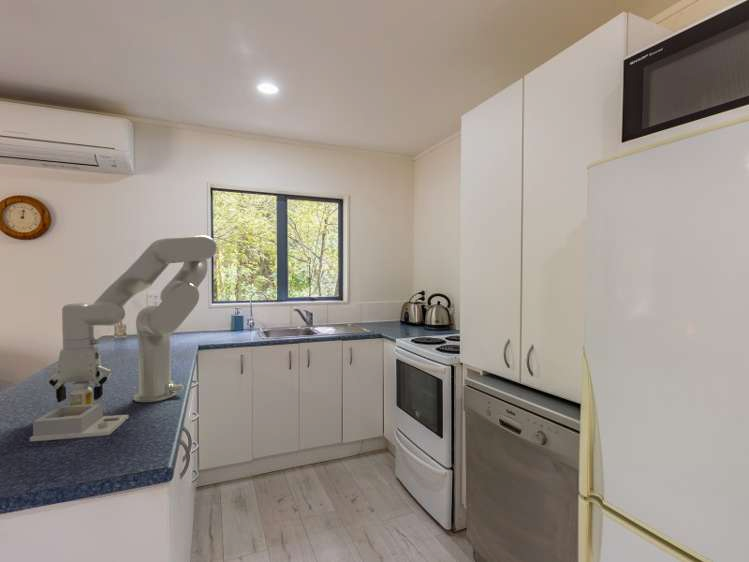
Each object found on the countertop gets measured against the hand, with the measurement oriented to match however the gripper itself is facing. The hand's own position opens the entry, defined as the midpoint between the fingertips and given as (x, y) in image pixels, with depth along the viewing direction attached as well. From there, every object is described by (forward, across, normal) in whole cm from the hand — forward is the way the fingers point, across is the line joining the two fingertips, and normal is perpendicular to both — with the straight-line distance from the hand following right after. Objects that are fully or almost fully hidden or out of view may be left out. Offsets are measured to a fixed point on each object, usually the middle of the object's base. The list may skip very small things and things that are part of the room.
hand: (79, 399), depth 115 cm
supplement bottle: (+4, 0, 0) cm, 5 cm away
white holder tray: (+4, -7, +13) cm, 15 cm away
